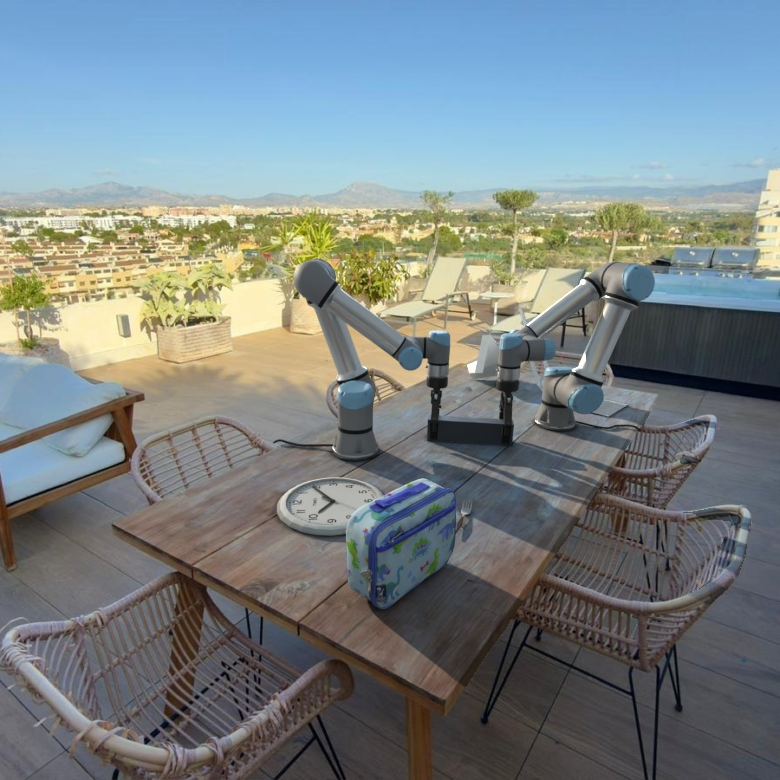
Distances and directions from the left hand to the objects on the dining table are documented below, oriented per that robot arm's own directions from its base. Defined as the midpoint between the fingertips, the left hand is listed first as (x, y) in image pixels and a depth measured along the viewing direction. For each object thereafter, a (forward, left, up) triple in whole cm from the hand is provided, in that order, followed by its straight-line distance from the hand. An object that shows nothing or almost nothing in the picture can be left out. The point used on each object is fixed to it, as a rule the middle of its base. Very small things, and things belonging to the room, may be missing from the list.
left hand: (434, 432), depth 189 cm
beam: (+12, +5, -2) cm, 13 cm away
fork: (+31, -46, -2) cm, 56 cm away
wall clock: (-2, -58, -2) cm, 58 cm away
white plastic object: (0, +79, -2) cm, 79 cm away
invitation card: (+45, +72, -2) cm, 85 cm away
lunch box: (+30, -75, -2) cm, 81 cm away
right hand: (+23, +10, 0) cm, 25 cm away
